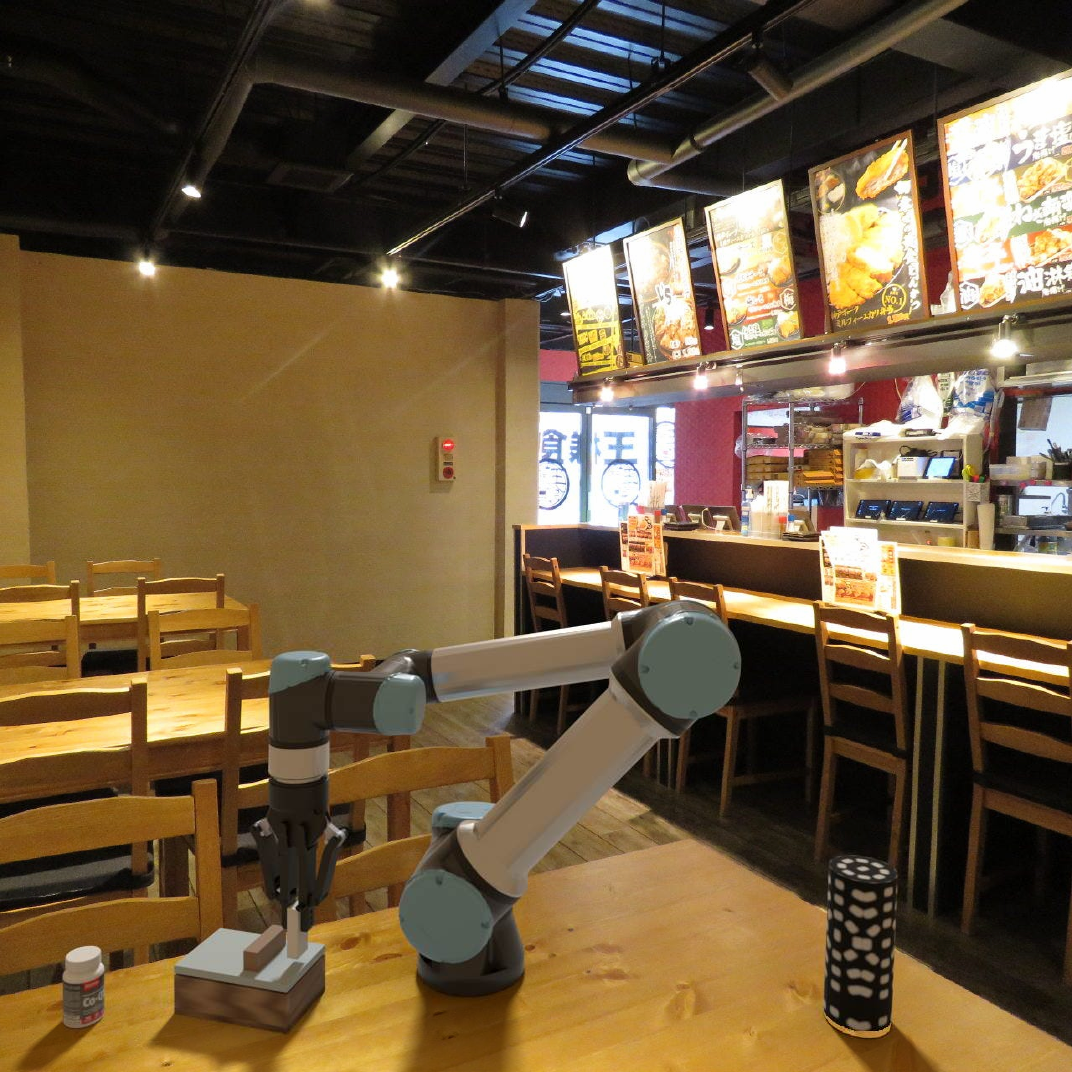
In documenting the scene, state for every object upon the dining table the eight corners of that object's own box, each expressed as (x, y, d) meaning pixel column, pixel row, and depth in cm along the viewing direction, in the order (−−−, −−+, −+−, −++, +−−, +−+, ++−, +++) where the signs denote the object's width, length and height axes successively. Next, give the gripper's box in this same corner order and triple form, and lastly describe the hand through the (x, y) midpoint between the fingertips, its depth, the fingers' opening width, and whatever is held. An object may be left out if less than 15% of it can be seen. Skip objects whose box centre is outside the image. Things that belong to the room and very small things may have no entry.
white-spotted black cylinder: (858, 1046, 110) (865, 888, 109) (809, 1010, 117) (815, 862, 116) (905, 1028, 114) (912, 875, 112) (855, 994, 121) (860, 850, 120)
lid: (325, 951, 119) (325, 926, 119) (286, 992, 110) (286, 965, 110) (220, 934, 123) (220, 910, 123) (174, 972, 114) (174, 946, 114)
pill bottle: (87, 1031, 110) (86, 966, 109) (54, 1026, 111) (53, 961, 110) (113, 1009, 114) (112, 946, 114) (81, 1004, 115) (80, 942, 115)
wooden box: (325, 990, 120) (325, 953, 119) (286, 1034, 110) (286, 994, 110) (220, 971, 124) (220, 937, 123) (174, 1012, 114) (174, 975, 114)
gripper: (359, 770, 115) (356, 946, 117) (269, 760, 119) (267, 932, 120) (332, 789, 108) (329, 976, 110) (237, 777, 111) (236, 960, 113)
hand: (297, 953), depth 115 cm, fingers closed
